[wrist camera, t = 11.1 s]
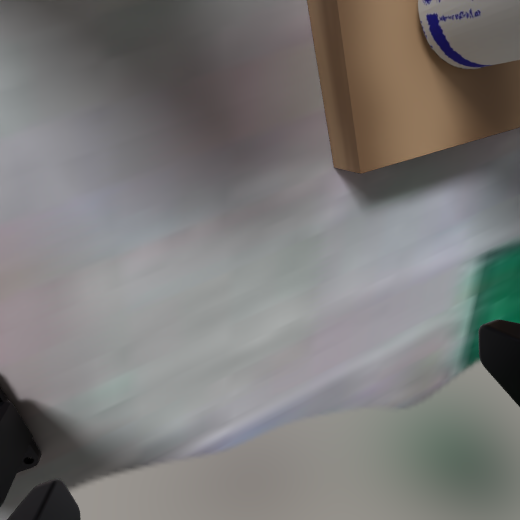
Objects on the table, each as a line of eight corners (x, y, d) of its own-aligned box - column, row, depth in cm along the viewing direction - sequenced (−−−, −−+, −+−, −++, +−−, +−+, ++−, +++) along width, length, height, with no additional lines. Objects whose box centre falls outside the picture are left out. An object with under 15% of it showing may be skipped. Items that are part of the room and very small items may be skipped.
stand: (334, 167, 20) (360, 173, 17) (287, -124, 15) (312, -178, 13) (530, 111, 21) (583, 108, 19) (538, -168, 17) (609, -226, 14)
